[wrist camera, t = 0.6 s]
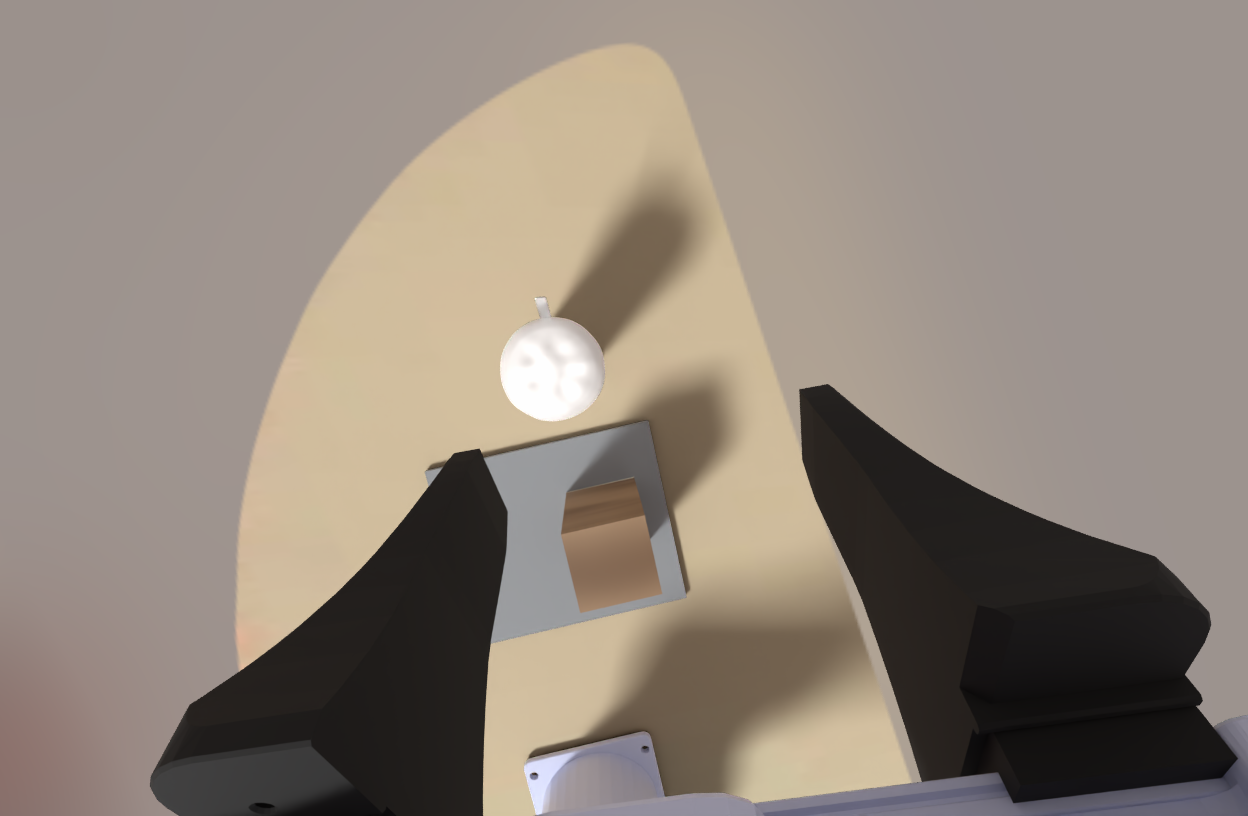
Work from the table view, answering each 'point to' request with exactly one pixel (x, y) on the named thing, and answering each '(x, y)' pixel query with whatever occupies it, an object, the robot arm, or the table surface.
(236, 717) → the robot arm
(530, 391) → the milkshake
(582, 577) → the walnut block
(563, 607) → the mat
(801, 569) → the table surface
